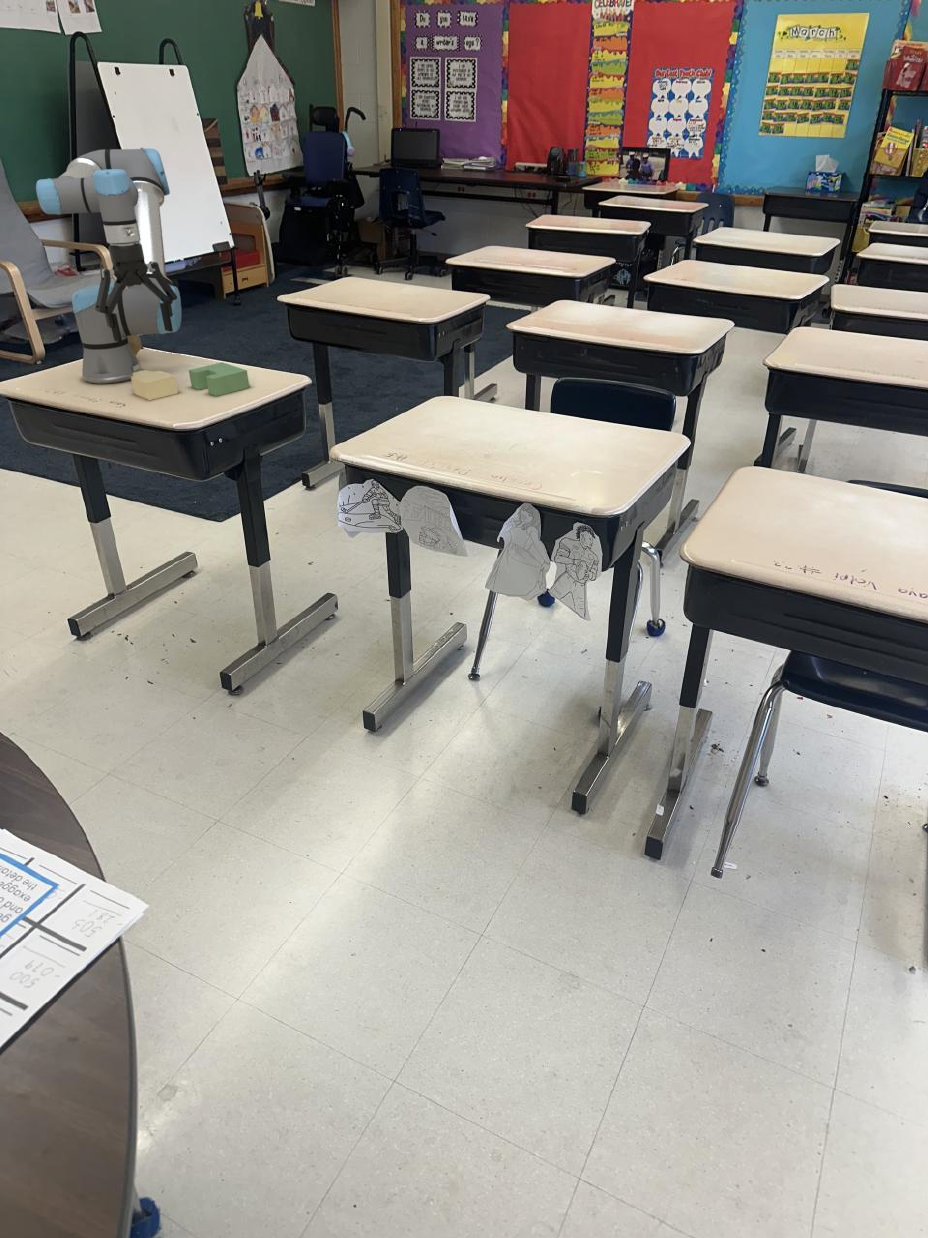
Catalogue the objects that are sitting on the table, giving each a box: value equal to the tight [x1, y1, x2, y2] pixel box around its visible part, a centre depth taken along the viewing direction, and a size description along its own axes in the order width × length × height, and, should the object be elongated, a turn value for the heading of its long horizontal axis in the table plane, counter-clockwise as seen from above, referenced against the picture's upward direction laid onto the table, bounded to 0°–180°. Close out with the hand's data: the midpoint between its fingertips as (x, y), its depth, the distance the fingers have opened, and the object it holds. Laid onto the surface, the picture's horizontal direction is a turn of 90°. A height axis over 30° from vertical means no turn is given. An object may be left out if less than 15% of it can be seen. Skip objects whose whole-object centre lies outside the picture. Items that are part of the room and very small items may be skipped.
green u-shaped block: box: [188, 361, 250, 397], centre depth 223 cm, size 12×10×4 cm
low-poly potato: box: [127, 335, 146, 357], centre depth 247 cm, size 15×11×12 cm
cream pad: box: [130, 369, 179, 401], centre depth 220 cm, size 8×11×4 cm
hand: (144, 335), depth 213 cm, fingers open, 13 cm apart
